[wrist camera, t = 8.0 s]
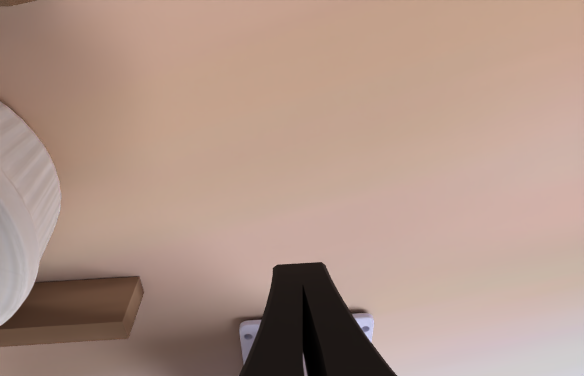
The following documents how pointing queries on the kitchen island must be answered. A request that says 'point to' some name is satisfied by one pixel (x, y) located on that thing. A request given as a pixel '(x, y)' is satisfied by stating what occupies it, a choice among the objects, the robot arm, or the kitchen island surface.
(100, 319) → the dock
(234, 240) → the kitchen island surface
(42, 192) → the ramekin
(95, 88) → the kitchen island surface
